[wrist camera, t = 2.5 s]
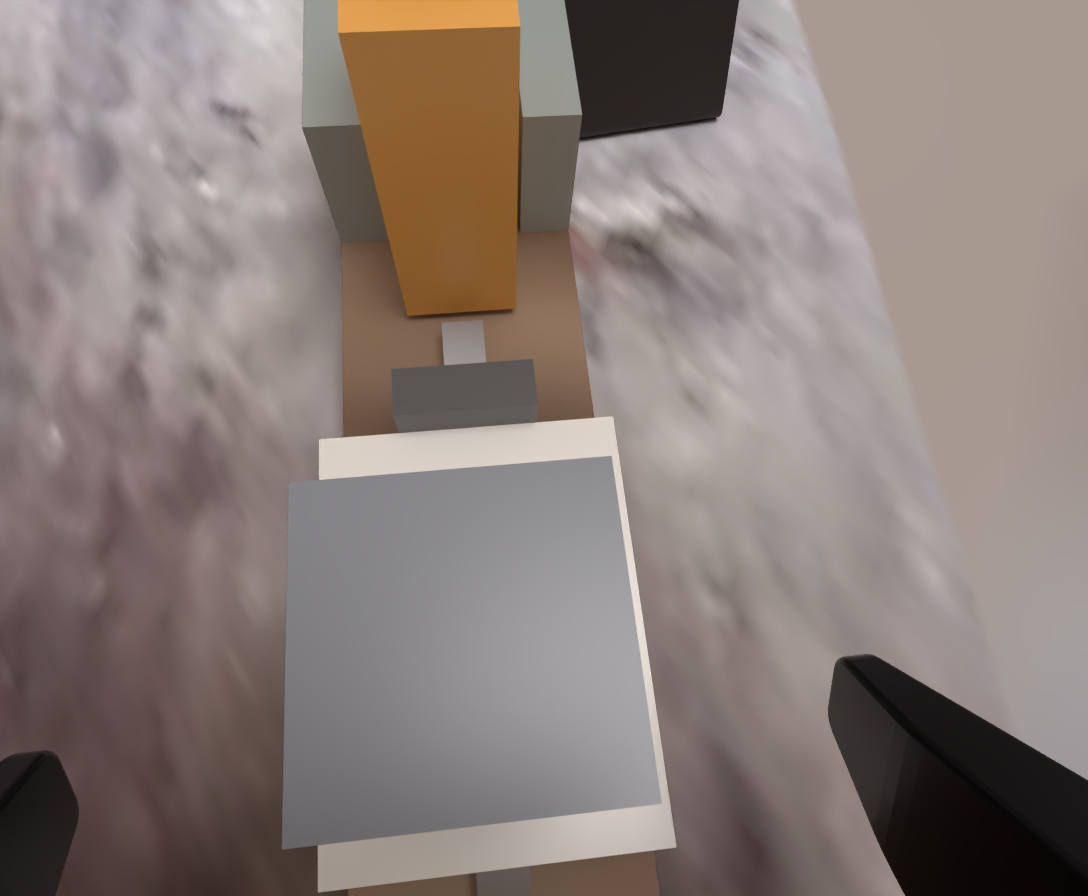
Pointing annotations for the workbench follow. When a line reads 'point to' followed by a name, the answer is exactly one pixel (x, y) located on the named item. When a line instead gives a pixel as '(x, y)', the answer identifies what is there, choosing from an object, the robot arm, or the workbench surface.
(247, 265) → the workbench surface
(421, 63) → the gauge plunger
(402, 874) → the carriage
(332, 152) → the end housing
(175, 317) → the workbench surface
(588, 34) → the phone stand
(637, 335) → the workbench surface
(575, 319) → the rail bed
